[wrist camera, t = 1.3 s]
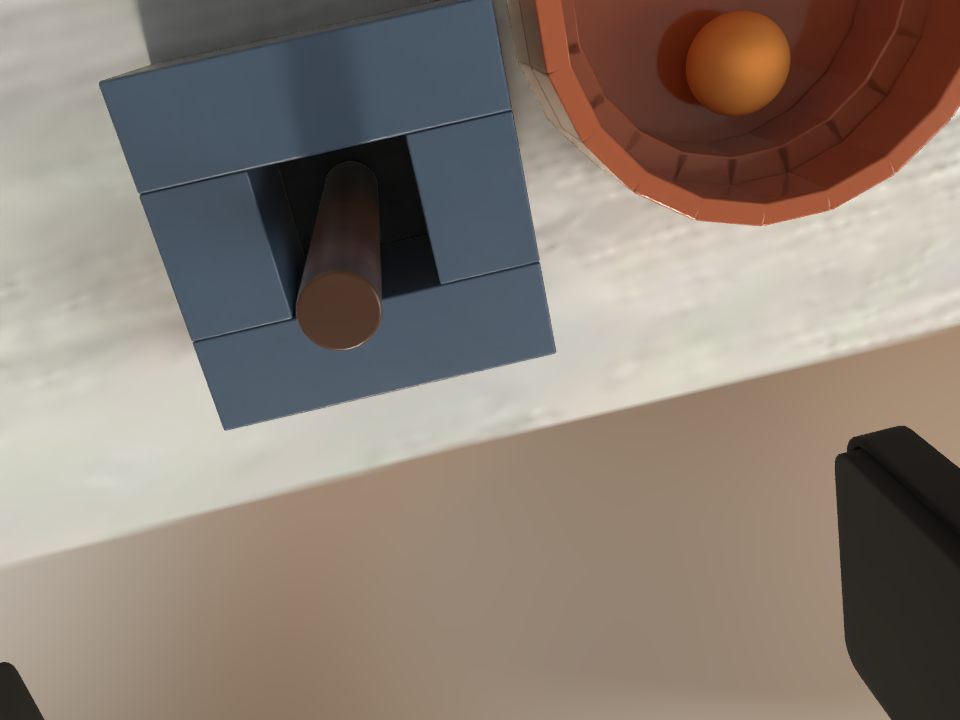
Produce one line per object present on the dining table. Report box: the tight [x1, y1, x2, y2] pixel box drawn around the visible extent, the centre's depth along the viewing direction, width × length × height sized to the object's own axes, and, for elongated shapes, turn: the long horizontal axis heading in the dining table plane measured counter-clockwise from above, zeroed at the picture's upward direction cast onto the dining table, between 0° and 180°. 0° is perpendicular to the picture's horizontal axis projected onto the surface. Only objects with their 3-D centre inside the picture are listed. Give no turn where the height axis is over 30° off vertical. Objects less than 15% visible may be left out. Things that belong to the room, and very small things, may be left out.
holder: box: [99, 0, 556, 430], centre depth 28 cm, size 10×10×6 cm
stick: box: [296, 161, 383, 351], centre depth 24 cm, size 2×2×13 cm
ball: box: [686, 10, 790, 117], centre depth 28 cm, size 3×3×3 cm
